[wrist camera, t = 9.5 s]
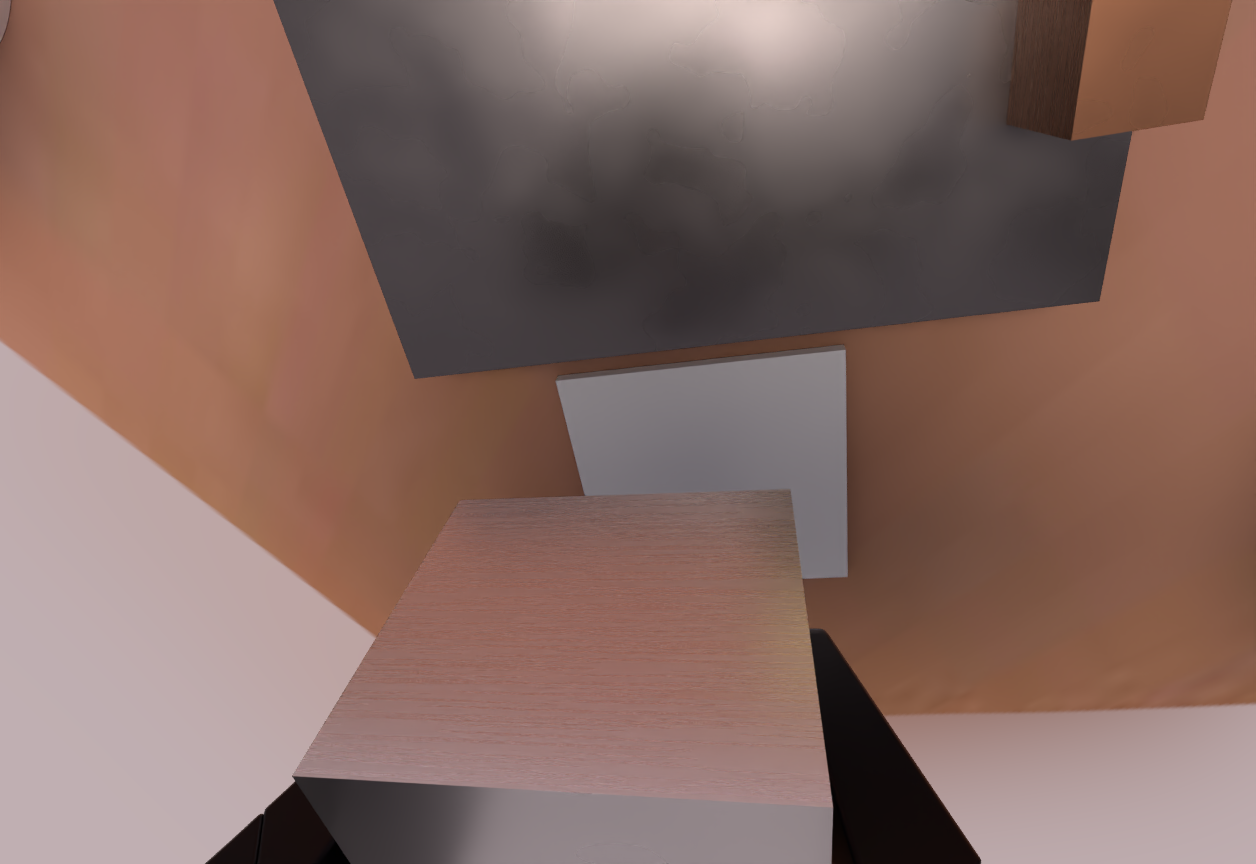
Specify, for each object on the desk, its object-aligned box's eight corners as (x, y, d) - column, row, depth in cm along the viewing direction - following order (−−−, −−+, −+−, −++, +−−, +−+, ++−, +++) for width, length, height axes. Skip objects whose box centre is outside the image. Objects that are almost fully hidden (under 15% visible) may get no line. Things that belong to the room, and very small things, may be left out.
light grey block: (789, 488, 8) (832, 807, 5) (795, 736, 11) (825, 1063, 7) (459, 499, 9) (292, 777, 6) (534, 726, 11) (451, 1014, 8)
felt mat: (843, 344, 19) (845, 349, 19) (845, 569, 24) (847, 576, 23) (558, 375, 21) (555, 381, 21) (609, 579, 25) (607, 586, 25)
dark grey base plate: (1129, -226, 13) (1371, -393, 8) (1053, 270, 17) (1175, 350, 13) (322, -21, 16) (157, -51, 11) (446, 345, 21) (366, 430, 16)
